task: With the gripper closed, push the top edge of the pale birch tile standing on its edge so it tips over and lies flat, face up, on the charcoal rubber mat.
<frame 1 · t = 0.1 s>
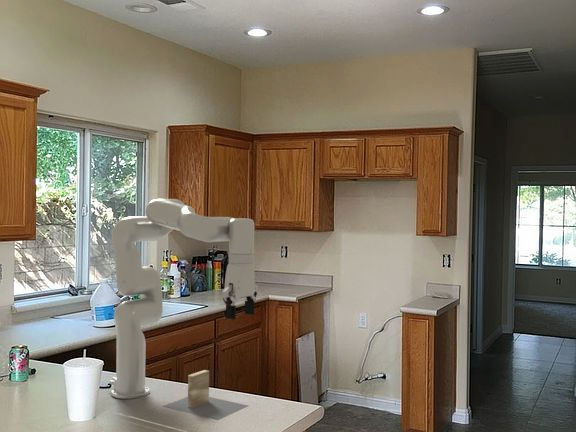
hand: (240, 316, 189), 31 cm above the counter, tool pointing down, fingers open, 9 cm apart
rubber mat: (205, 407, 200), on the counter
birch tile: (198, 404, 201), resting on rubber mat
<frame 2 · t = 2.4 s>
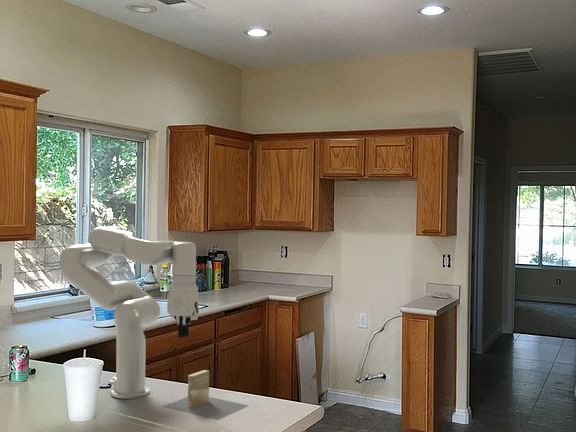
hand: (183, 336, 204), 21 cm above the counter, tool pointing down, fingers closed
nothing on the counter moved.
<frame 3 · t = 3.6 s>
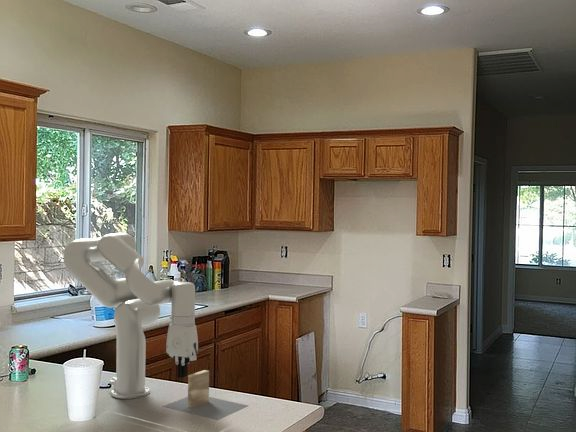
hand: (182, 376, 205), 8 cm above the counter, tool pointing down, fingers closed
nothing on the counter moved.
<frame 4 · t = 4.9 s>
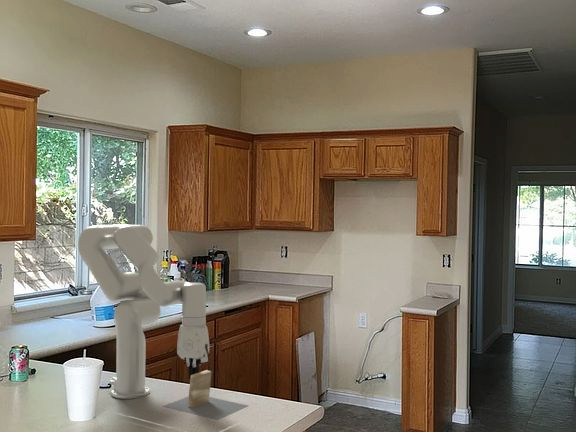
hand: (193, 378, 202), 8 cm above the counter, tool pointing down, fingers closed
birch tile: (198, 403, 201), resting on rubber mat, tilted 5°
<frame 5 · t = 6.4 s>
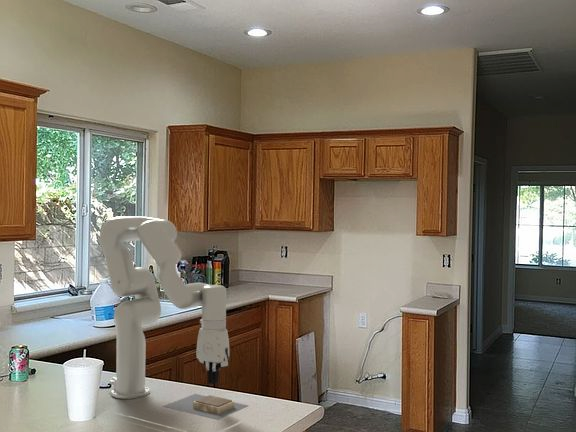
hand: (213, 382, 198), 8 cm above the counter, tool pointing down, fingers closed
birch tile: (201, 401, 201), point 1 cm above the counter, tilted 90°, touching rubber mat
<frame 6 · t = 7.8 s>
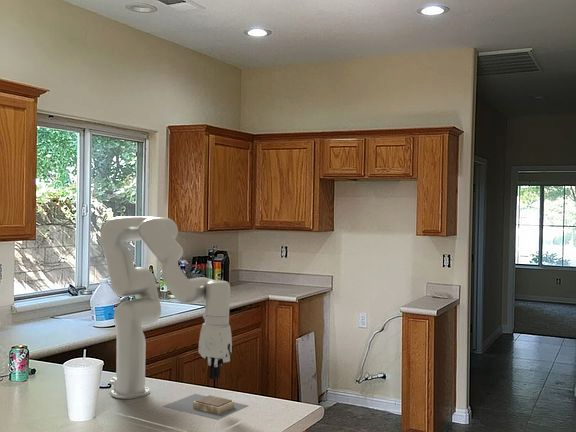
hand: (214, 378, 198), 10 cm above the counter, tool pointing down, fingers closed
nothing on the counter moved.
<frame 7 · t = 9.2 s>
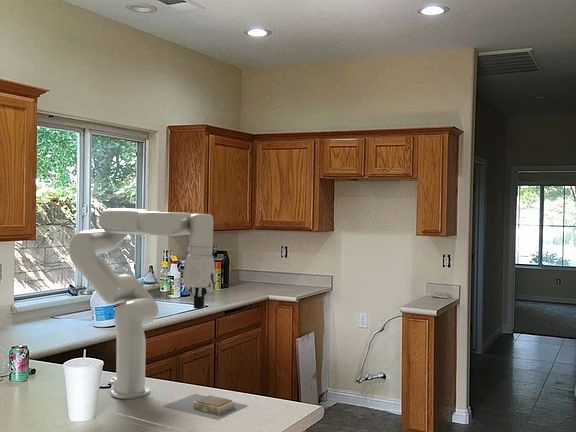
hand: (198, 308, 204), 31 cm above the counter, tool pointing down, fingers closed
nothing on the counter moved.
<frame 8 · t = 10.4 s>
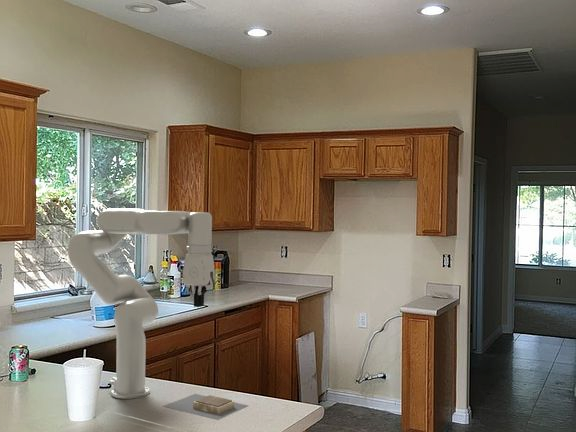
hand: (198, 306, 205), 31 cm above the counter, tool pointing down, fingers closed
nothing on the counter moved.
at the end: birch tile tilted 90°; birch tile inside the target area (1.9 cm from its centre), point 1.4 cm above the counter; birch tile touching rubber mat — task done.
